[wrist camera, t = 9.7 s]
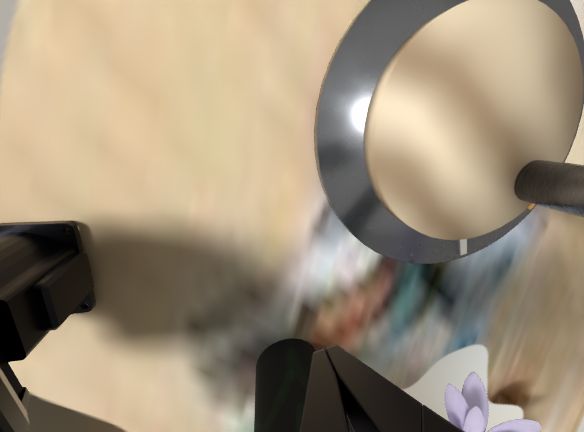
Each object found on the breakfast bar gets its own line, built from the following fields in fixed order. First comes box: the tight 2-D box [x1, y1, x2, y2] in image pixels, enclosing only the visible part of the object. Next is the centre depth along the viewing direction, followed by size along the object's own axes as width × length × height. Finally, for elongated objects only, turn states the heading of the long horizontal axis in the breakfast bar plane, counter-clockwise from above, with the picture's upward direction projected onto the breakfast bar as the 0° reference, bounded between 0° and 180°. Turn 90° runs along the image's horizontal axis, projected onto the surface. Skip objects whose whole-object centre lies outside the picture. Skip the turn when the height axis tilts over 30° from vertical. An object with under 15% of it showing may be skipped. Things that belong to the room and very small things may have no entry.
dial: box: [363, 0, 584, 240], centre depth 14 cm, size 15×15×12 cm
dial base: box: [314, 0, 584, 264], centre depth 20 cm, size 21×21×1 cm
